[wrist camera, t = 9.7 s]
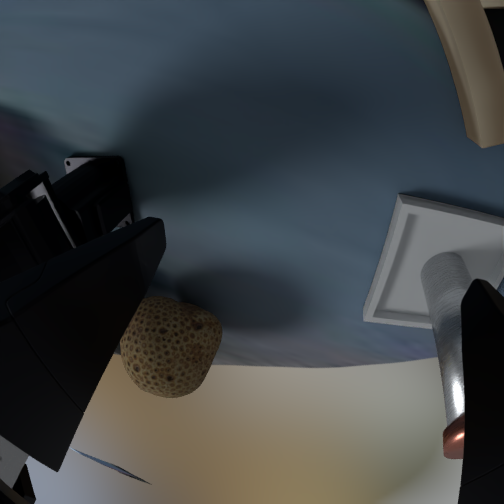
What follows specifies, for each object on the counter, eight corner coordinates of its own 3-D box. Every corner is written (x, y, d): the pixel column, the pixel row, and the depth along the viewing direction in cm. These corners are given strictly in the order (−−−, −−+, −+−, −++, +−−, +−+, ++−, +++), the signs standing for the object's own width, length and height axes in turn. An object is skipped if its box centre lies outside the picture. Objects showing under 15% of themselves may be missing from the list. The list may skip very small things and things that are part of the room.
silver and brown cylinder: (405, 274, 22) (428, 451, 11) (449, 237, 20) (511, 414, 8) (436, 303, 23) (463, 462, 12) (477, 271, 20) (530, 431, 9)
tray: (363, 308, 26) (363, 320, 25) (398, 193, 20) (402, 203, 18) (466, 320, 24) (470, 332, 23) (517, 222, 18) (525, 232, 17)
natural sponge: (134, 298, 32) (88, 370, 25) (168, 252, 27) (111, 338, 19) (200, 345, 34) (169, 420, 27) (248, 311, 29) (217, 404, 22)
